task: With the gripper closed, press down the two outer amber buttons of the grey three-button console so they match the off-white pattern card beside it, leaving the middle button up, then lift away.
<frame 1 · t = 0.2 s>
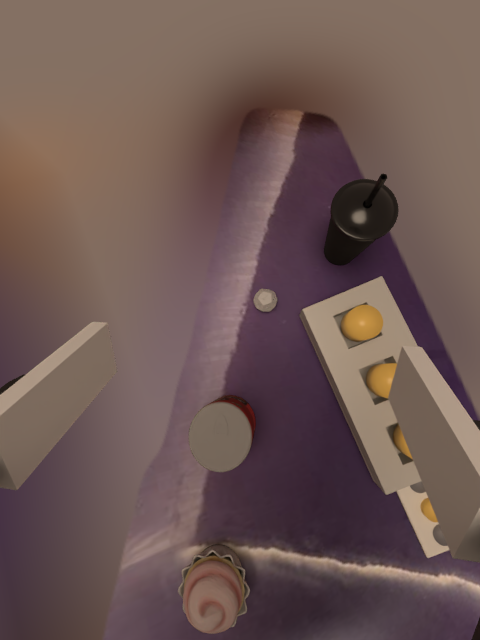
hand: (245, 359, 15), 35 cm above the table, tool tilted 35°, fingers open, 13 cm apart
button mid: (388, 380, 41), point 6 cm above the table, slide at 0.0 cm
game die: (265, 302, 51), on the table
console: (372, 379, 47), on the table
canned food: (231, 421, 49), on the table
drinking cup: (339, 251, 51), on the table
cupcake: (219, 566, 46), on the table
pattern card: (428, 506, 44), on the table
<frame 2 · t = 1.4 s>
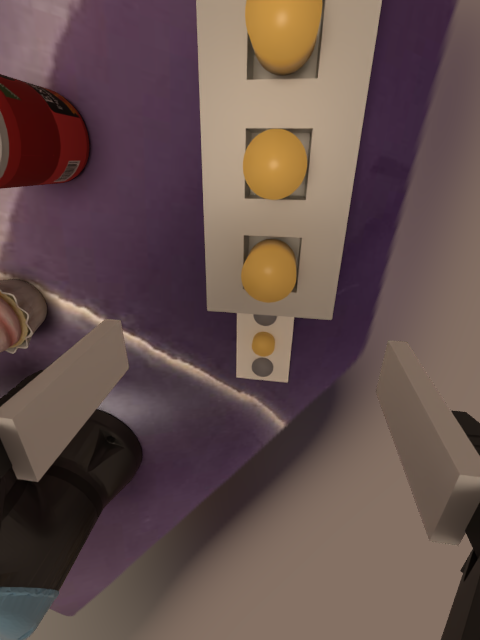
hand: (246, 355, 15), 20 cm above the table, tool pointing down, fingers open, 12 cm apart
button mid: (275, 165, 24), point 7 cm above the table, slide at 0.0 cm
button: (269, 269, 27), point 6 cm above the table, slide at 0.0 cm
console: (279, 165, 29), on the table
canned food: (56, 139, 32), on the table
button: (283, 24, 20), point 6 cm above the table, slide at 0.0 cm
cupcake: (26, 300, 41), on the table
pattern card: (264, 339, 38), on the table
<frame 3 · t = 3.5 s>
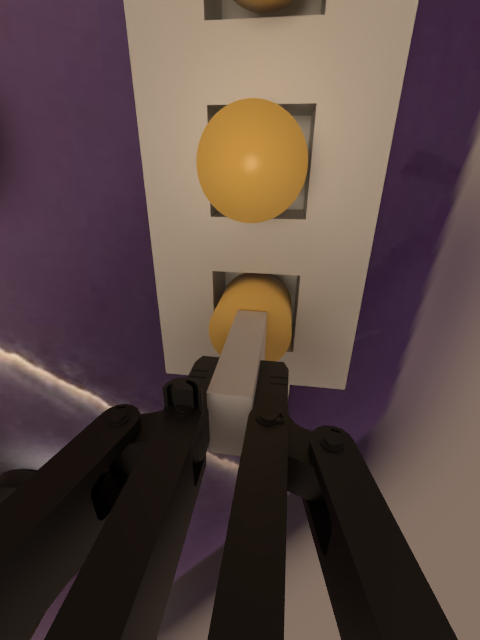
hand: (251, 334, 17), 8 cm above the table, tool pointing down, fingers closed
button mid: (255, 165, 14), point 6 cm above the table, slide at 0.0 cm
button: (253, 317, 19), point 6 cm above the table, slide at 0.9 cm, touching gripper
console: (265, 164, 20), on the table
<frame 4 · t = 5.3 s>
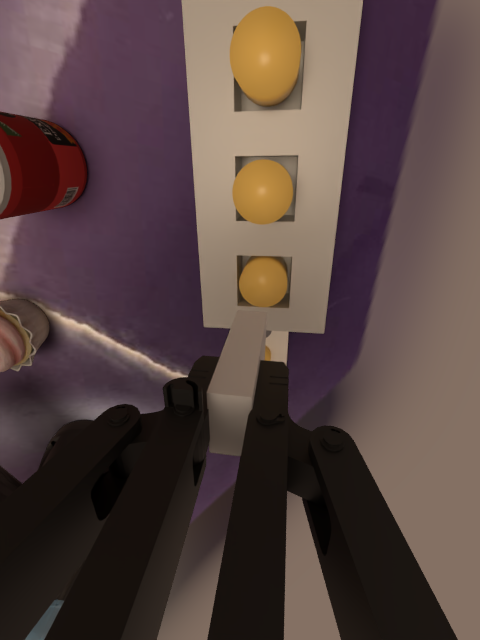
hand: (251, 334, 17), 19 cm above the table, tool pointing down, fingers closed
button mid: (264, 191, 25), point 6 cm above the table, slide at 0.0 cm
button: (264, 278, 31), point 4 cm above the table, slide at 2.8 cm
console: (269, 186, 31), on the table
canned food: (55, 166, 33), on the table
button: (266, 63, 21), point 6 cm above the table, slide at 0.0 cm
cupcake: (29, 319, 42), on the table
pattern card: (260, 351, 39), on the table
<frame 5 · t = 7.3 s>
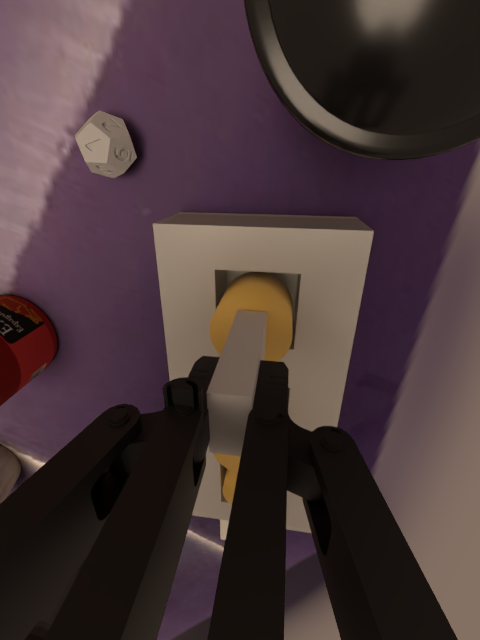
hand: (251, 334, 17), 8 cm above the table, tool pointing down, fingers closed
button mid: (250, 427, 22), point 7 cm above the table, slide at 0.0 cm
game die: (119, 147, 21), on the table
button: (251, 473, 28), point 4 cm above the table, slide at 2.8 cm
console: (258, 372, 27), on the table
canned food: (22, 331, 30), on the table
drinking cup: (340, 88, 18), on the table
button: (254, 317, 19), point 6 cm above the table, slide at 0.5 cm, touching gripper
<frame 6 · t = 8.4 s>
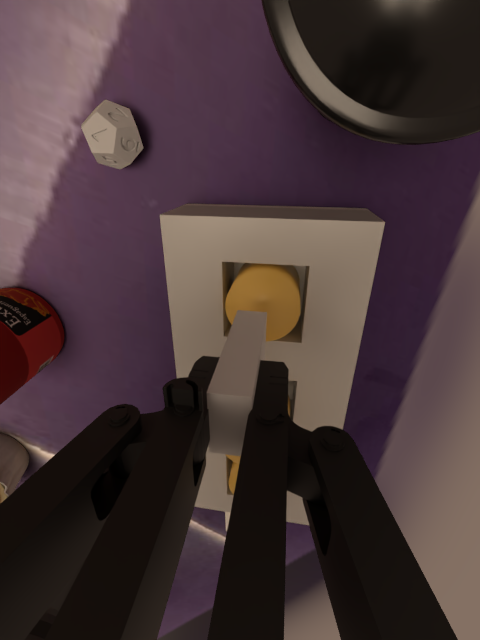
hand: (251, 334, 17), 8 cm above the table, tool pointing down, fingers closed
button mid: (256, 420, 22), point 6 cm above the table, slide at 0.0 cm
game die: (126, 137, 21), on the table
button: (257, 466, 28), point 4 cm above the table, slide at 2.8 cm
console: (265, 365, 27), on the table
canned food: (30, 323, 30), on the table
drinking cup: (351, 75, 18), on the table
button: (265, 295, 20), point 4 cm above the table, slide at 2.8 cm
cupcake: (7, 448, 39), on the table
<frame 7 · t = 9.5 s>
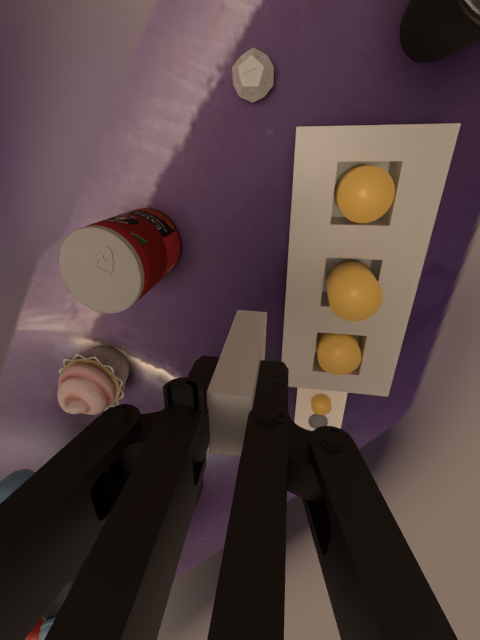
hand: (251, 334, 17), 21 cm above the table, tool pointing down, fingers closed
button mid: (352, 290, 29), point 6 cm above the table, slide at 0.0 cm
game die: (255, 80, 29), on the table
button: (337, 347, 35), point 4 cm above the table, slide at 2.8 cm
console: (343, 267, 35), on the table
canned food: (151, 242, 37), on the table
drinking cup: (431, 25, 25), on the table
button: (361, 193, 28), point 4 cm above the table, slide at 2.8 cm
cupcake: (110, 362, 47), on the table
pattern card: (320, 398, 43), on the table
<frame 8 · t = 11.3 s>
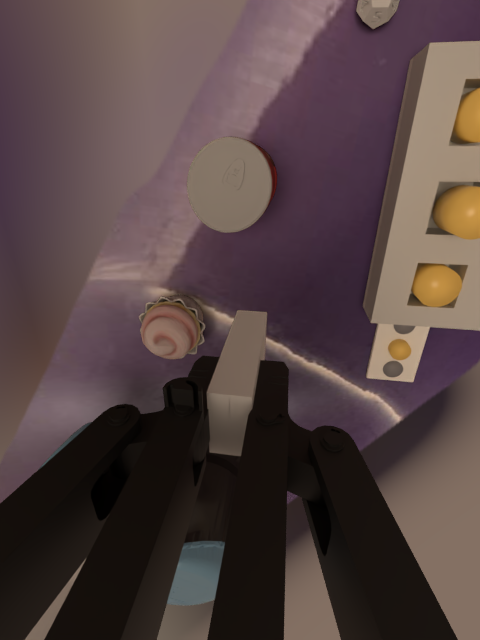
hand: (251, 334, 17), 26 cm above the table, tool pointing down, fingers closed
button mid: (466, 211, 30), point 6 cm above the table, slide at 0.0 cm
game die: (374, 8, 30), on the table
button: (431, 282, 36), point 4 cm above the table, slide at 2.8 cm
console: (438, 203, 36), on the table
canned food: (245, 181, 38), on the table
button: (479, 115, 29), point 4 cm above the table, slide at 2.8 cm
cupcake: (183, 312, 47), on the table
pattern card: (396, 345, 44), on the table
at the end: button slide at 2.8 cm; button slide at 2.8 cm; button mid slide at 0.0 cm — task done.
